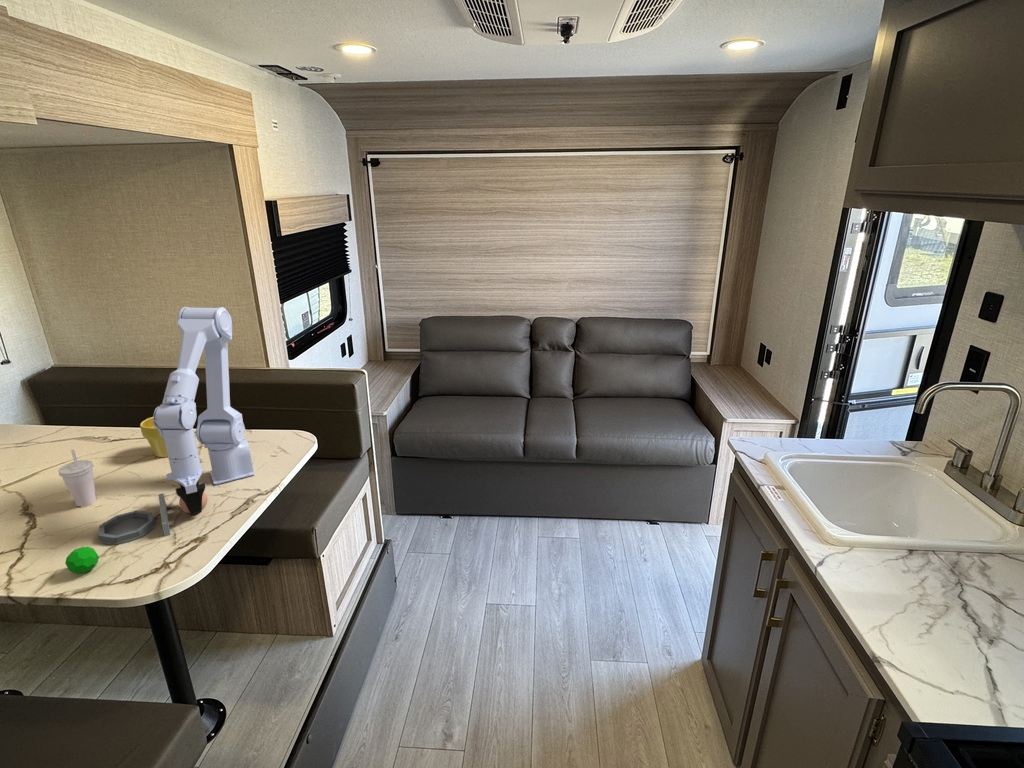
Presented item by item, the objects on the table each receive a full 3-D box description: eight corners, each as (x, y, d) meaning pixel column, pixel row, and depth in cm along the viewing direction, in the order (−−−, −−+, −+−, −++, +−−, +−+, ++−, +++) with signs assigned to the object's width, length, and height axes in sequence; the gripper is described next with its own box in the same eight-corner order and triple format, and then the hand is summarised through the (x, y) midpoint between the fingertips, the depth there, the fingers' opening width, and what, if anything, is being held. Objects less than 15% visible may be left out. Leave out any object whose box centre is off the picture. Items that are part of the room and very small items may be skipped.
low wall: (166, 504, 125) (163, 493, 124) (170, 534, 115) (167, 522, 114) (161, 505, 125) (158, 494, 124) (164, 536, 114) (162, 524, 113)
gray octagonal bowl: (154, 510, 123) (153, 505, 122) (157, 533, 115) (155, 527, 114) (99, 525, 117) (97, 519, 117) (97, 550, 109) (95, 544, 109)
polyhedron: (93, 577, 102) (86, 556, 100) (64, 580, 101) (57, 559, 99) (106, 560, 107) (100, 540, 105) (78, 563, 106) (71, 543, 104)
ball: (207, 501, 127) (203, 481, 125) (210, 513, 122) (206, 492, 121) (180, 509, 124) (176, 488, 122) (183, 521, 119) (178, 499, 117)
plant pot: (184, 440, 157) (177, 410, 153) (195, 452, 150) (188, 420, 147) (143, 451, 150) (135, 420, 146) (153, 464, 143) (145, 431, 140)
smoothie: (84, 511, 122) (68, 457, 117) (62, 508, 123) (44, 454, 118) (109, 497, 128) (95, 445, 123) (87, 493, 129) (72, 442, 124)
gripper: (160, 445, 121) (172, 496, 126) (164, 472, 110) (177, 527, 115) (195, 438, 125) (205, 488, 130) (202, 463, 114) (213, 517, 119)
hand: (194, 506), depth 123 cm, fingers closed on ball, 5 cm apart
